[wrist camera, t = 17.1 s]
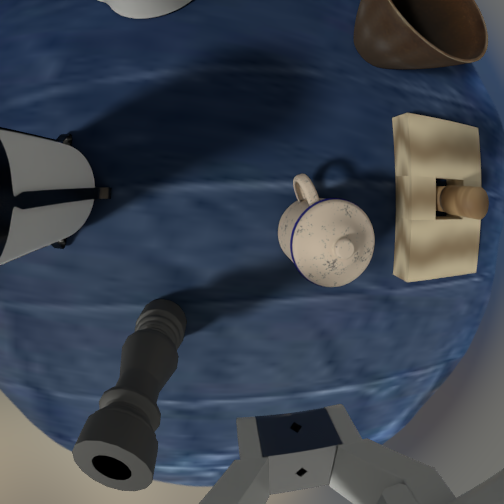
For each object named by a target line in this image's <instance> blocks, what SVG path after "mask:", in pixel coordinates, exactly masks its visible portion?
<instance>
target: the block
mask: <svg viewBox="0 0 504 504" xmlns="http://www.w3.org/2000/svg"><path fill="white" fill-rule="evenodd" d="M392 122H393V135H394V150H395V174H396V229H395V253H394V269H393V275H395V276H397V277H399V278H401V279H403V280H404V281H406V282H414V281H421V280H429V279H436V278H443V277H450V276H456V275H463V274H469V273H476V268H477V260H478V250H479V238H480V221H481V219H480V220H477V219H472V218H467V217H462V216H456V215H451V214H448V213H446V216H436V179H447V186H449V185H457V186H473V187H481V160H480V144H479V133H478V128H476V127H473V126H469V125H465V124H460V123H456V122H452V121H447V120H443V119H438V118H433V117H428V116H423V115H417V114H412V113H405V114H402V115H399V116H396V117H393V118H392Z"/></svg>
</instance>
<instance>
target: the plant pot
mask: <svg viewBox="0 0 504 504" xmlns="http://www.w3.org/2000/svg"><path fill="white" fill-rule="evenodd" d="M354 44H355V47H356V49H357V51H358V53H359V54H360V55H361V57H362V58H363V59H364V60H366V61H367V62H368V63H370V64H371V65H373V66H376V67H379V68H386V69H426V68H438V67H446V66H453V65H459V64H465V63H471V62H475V61H478V60H479V59H481V57H483V56H484V54H485V52H486V50H487V46H488V34H487V29H486V25H485V22H484V19H483V16H482V14H481V12H480V10H479V8H478V6H477V4H476V3H475V1H474V0H361V2H360V5H359V8H358V12H357V16H356V22H355V28H354Z"/></svg>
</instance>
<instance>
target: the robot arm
mask: <svg viewBox="0 0 504 504" xmlns="http://www.w3.org/2000/svg"><path fill="white" fill-rule="evenodd" d="M98 1H101V2H105V3H107V4H108V5H109V6H110V7H111V8H112V9H113V10H114V11H115V12H116V13H118V14H120V15H122V16H125V17H129V18H137V19H143V18H152V17H157V16H161V15H165V14H168V13H170V12H173V11H175V10H177V9H179V8H181V7H183V6H184V5H186V4H187V3H189V2H190V1H192V0H98ZM236 423H237V433H238V444H239V454H240V460H234V461H233V463H232V464H231V465H230V467H229V468H228V469H227V470H226V472H225V473H224V474H223V475H222V477H221V478H220V479H219V480H218V481H217V483H216V484H215V485H214V486H213V488H212V489H211V490H210V491H209V492H208V494H207V495H206V496H205V497H204V498H203V500H201V502H200V503H199V504H265V503H266V502H267V500H268V498H269V495H271V494H277V493H284V492H289V491H295V490H301V489H307V488H313V487H319V486H325V485H329V486H330V487H331V488H333V489H334V490H335V491H337V492H338V493H339V494H341V495H342V496H344V497H345V498H346V499H348V500H349V501H350V502H352V503H353V504H504V469H502V470H501V471H499V472H498V473H496V474H495V475H493V476H492V477H490V478H489V479H487V480H486V481H484V482H483V483H481V484H479V485H478V486H476V487H474V488H473V489H471V490H470V491H468V492H466V493H464V494H462V495H461V496H459V497H457V498H456V497H455V496H454V494H453V493H452V492H451V490H450V489H449V487H448V486H447V485H446V483H445V482H444V480H443V479H442V477H441V476H440V475H439V473H438V472H437V471H436V469H435V468H434V467H431V466H429V465H426V464H424V463H421V462H419V461H416V460H414V459H411V458H409V457H407V456H404V455H402V454H400V453H398V452H395V451H393V450H391V449H389V448H386V447H384V446H382V445H380V444H378V443H376V442H374V441H372V440H369V439H363V440H362V438H361V436H360V434H359V433H358V431H357V429H356V427H355V426H354V424H353V422H352V420H351V418H350V417H349V415H348V413H347V411H346V410H345V408H344V406H343V405H341V404H338V405H333V406H328V407H324V408H319V409H313V410H307V411H301V412H294V413H287V414H278V415H267V416H255V417H244V418H237V421H236Z"/></svg>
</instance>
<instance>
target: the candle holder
mask: <svg viewBox="0 0 504 504" xmlns="http://www.w3.org/2000/svg"><path fill="white" fill-rule="evenodd" d="M186 322H187V321H186V317H185V313H184V312H183V311H182V309H181V308H180V307H179V306H178V305H177V304H175V303H174V302H172V301H169V300H165V299H159V300H153V301H152V302H150V303H149V304H147V305H146V306H145V308H144V309H143V311H142V313H141V315H140V316H139V318H138V320H137V321H136V327H135V332H134V333H133V334H131V335H130V336H128V338H127V340H126V341H125V343H124V345H123V347H122V356H121V367H120V378H119V380H118V382H117V384H116V386H115V387H112V388H111V389H109V390H107V391H105V392H104V394H103V396H102V397H101V399H100V401H99V407H100V410H98V411H96V412H95V413H94V414H92V415H90V416H89V417H88V419H87V421H86V423H85V425H84V427H83V429H82V431H81V433H80V436H79V438H78V440H77V442H76V444H75V446H74V448H73V451H72V453H73V457H74V461H75V462H76V464H77V465H78V466H79V468H80V469H81V470H82V471H83V472H84V473H85V474H87V475H88V476H89V477H90V478H92V479H93V480H95V481H97V482H99V483H101V484H103V485H105V486H107V487H111V488H114V489H118V490H122V491H123V490H124V491H138V490H141V489H145V488H147V487H148V486H149V485H150V484H151V483H152V480H153V474H154V469H155V463H156V457H157V452H158V441H157V439H156V434H155V433H154V432H155V430H156V429H157V428H158V427H159V425H160V417H161V413H160V411H159V408H158V406H157V404H156V403H157V399H158V395H159V392H160V391H161V389H162V388H163V387H164V385H165V384H166V382H167V381H168V380H169V378H170V377H171V376H172V374H173V373H174V371H175V370H176V369H177V363H178V353H177V349H178V347H179V346H180V344H181V343H182V341H183V338H184V333H185V329H186Z"/></svg>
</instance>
